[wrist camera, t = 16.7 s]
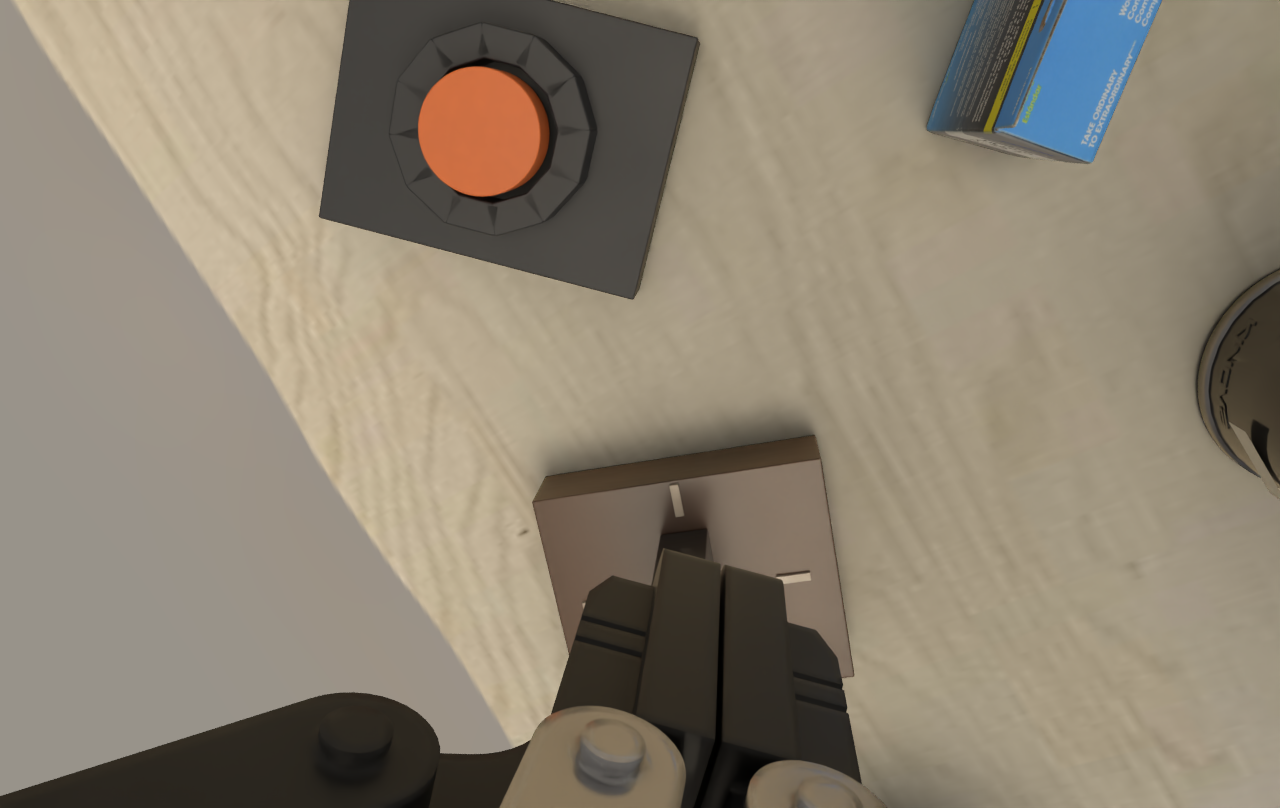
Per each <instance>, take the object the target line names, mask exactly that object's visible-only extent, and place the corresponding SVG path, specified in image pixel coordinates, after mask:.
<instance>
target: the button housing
mask: <svg viewBox="0 0 1280 808" xmlns="http://www.w3.org/2000/svg"><path fill="white" fill-rule="evenodd" d="M699 46H700V42H699V40H698V38H696V37H693V36H689V35H685V34H681V33H677V32H673V31H669V30H665V29H661V28H657V27H653V26H650V25H646V24H642V23H638V22H634V21H630V20H626V19H622V18H618V17H614V16H610V15H607V14H603V13H599V12H595V11H591V10H587V9H583V8H579V7H575V6H571V5H567V4H564V3H560V2H556V1H552V0H350V1H349V8H348V15H347V22H346V29H345V36H344V43H343V50H342V57H341V65H340V72H339V79H338V86H337V93H336V100H335V107H334V114H333V121H332V128H331V135H330V142H329V150H328V157H327V164H326V171H325V178H324V185H323V192H322V199H321V206H320V213H319V217H320V218H323V219H327V220H331V221H334V222H338V223H342V224H346V225H350V226H353V227H357V228H361V229H365V230H369V231H373V232H376V233H380V234H384V235H388V236H392V237H395V238H399V239H403V240H407V241H411V242H415V243H418V244H422V245H426V246H430V247H434V248H437V249H441V250H445V251H449V252H453V253H456V254H460V255H464V256H468V257H472V258H476V259H479V260H483V261H487V262H491V263H495V264H498V265H502V266H506V267H510V268H514V269H518V270H521V271H525V272H529V273H533V274H537V275H540V276H544V277H548V278H552V279H556V280H560V281H563V282H567V283H571V284H575V285H579V286H582V287H586V288H590V289H594V290H598V291H601V292H605V293H609V294H613V295H617V296H621V297H624V298H628V299H634V298H635V296H636V294H637V292H638V291H639V288H640V284H641V280H642V276H643V272H644V268H645V264H646V260H647V256H648V252H649V248H650V244H651V240H652V236H653V232H654V227H655V223H656V219H657V215H658V211H659V207H660V203H661V199H662V195H663V191H664V187H665V183H666V179H667V175H668V171H669V167H670V163H671V159H672V155H673V151H674V147H675V143H676V139H677V135H678V131H679V127H680V123H681V118H682V114H683V110H684V106H685V102H686V98H687V94H688V90H689V86H690V82H691V78H692V74H693V70H694V66H695V62H696V58H697V54H698V50H699ZM472 66H480V67H488V68H493V69H498V70H502V71H505V72H508V73H511V74H513V75H515V76H517V77H518V78H520V79H521V80H523V81H524V82H525V83H527V84H528V85H529V86H530V87H531V88H532V89H533V90H534V92H535V93H536V94H537V96H538V97H539V99H540V100H541V102H542V104H543V106H544V108H545V111H546V114H547V118H548V122H549V130H550V136H549V146H548V150H547V154H546V156H545V159H544V161H543V163H542V165H541V167H540V168H539V170H538V171H537V172H536V174H535V175H534V176H533V177H532V178H531V179H530V180H529V181H527V182H526V183H525V184H523V185H522V186H520V187H518V188H516V189H513V190H511V191H508V192H505V193H501V194H498V195H493V196H485V197H481V196H472V195H467V194H464V193H461V192H459V191H457V190H454V189H452V188H451V187H449V186H448V185H446V184H445V183H444V182H443V181H441V180H440V179H439V178H438V177H437V176H436V174H435V173H434V172H433V171H432V169H431V168H430V167H429V165H428V163H427V161H426V160H425V158H424V155H423V153H422V150H421V146H420V143H419V136H418V121H419V114H420V110H421V107H422V104H423V102H424V100H425V98H426V96H427V94H428V92H429V91H430V90H431V88H432V87H433V86H434V85H435V84H436V83H437V82H438V81H439V80H440V79H441V78H443V77H444V76H445V75H447V74H449V73H451V72H453V71H455V70H458V69H461V68H465V67H472Z"/></svg>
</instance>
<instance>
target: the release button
mask: <svg viewBox="0 0 1280 808" xmlns="http://www.w3.org/2000/svg"><path fill="white" fill-rule="evenodd" d="M418 136H419V143H420V146H421V150H422V153H423V155H424V158H425V160H426V161H427V163H428V165H429V167H430V168H431V169H432V171H433V172H434V173H435V174H436V176H437V177H438V178H439V179H440V180H441V181H443V182H444V183H445V184H446V185H448V186H449V187H451V188H452V189H454V190H457V191H459V192H461V193H464V194H467V195H472V196H481V197H485V196H493V195H498V194H501V193H505V192H508V191H511V190H513V189H516V188H518V187H520V186H522V185H523V184H525V183H526V182H527V181H529V180H530V179H531V178H532V177H533V176H534V175H535V174H536V172H537V171H538V170H539V168H540V167H541V165H542V163H543V161H544V159H545V156H546V154H547V150H548V146H549V136H550V130H549V122H548V118H547V114H546V111H545V108H544V106H543V104H542V102H541V100H540V99H539V97H538V96H537V94H536V93H535V92H534V90H533V89H532V88H531V87H530V86H529V85H528V84H527V83H525V82H524V81H523V80H521V79H520V78H518V77H517V76H515V75H513V74H511V73H508V72H505V71H502V70H498V69H493V68H488V67H480V66H472V67H465V68H461V69H458V70H455V71H453V72H451V73H449V74H447V75H445V76H444V77H443V78H441V79H440V80H439V81H438V82H437V83H436V84H435V85H434V86H433V87H432V88H431V90H430V91H429V92H428V94H427V96H426V98H425V100H424V102H423V104H422V107H421V110H420V114H419V121H418Z"/></svg>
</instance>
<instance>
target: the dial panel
mask: <svg viewBox="0 0 1280 808" xmlns="http://www.w3.org/2000/svg"><path fill="white" fill-rule="evenodd" d="M532 503H533V507H534V511H535V515H536V519H537V524H538V528H539V532H540V536H541V540H542V544H543V548H544V553H545V557H546V561H547V565H548V569H549V573H550V577H551V582H552V586H553V590H554V594H555V598H556V602H557V606H558V611H559V615H560V619H561V623H562V627H563V631H564V635H565V640H566V644H567V648H568V652H569V655H570V652H571V648H572V645H573V642H574V639H575V636H576V632H577V629H578V626H579V623H580V620H581V617H582V613H583V610H584V607H585V603H586V600H587V597H588V594H589V591H590V590H592V589H593V588H595V587H596V586H598V585H599V584H601V583H602V582H603V581H605V580H606V579H608V578H609V577H611V576H612V575H613V576H617V577H620V578H624V579H628V580H632V581H635V582H639V583H643V584H646V585H650V586H651V585H652V579H653V574H654V568H655V562H656V557H657V551H658V546H659V540H660V536H661V535H665V534H672V533H680V532H687V531H695V530H702V529H707V530H708V534H709V540H710V545H711V551H712V556H713V562H717V563H720V564H721V570H722V568H723V566H724V565H729V566H733V567H736V568H740V569H744V570H748V571H751V572H755V573H759V574H763V575H766V576H770V577H774V578H777V579H781V580H783V584H784V593H785V603H786V612H787V622H789V623H793V624H796V625H800V626H804V627H807V628H811V629H815V630H817V631H818V633H819V634H820V635H821V637H822V638H823V639H824V640H825V642H826V643H827V644H828V646H829V647H830V648H831V650H832V651H833V652H834V654H835V655H836V656H837V657H838V662H839V667H840V672H841V677H842V678H846V677H853V676H854V669H853V663H852V656H851V650H850V643H849V637H848V631H847V624H846V618H845V611H844V605H843V598H842V592H841V585H840V579H839V572H838V566H837V559H836V553H835V546H834V540H833V533H832V527H831V520H830V514H829V507H828V501H827V494H826V488H825V481H824V475H823V468H822V462H821V457H820V453H819V449H818V445H817V441H816V437H815V435H813V436H806V437H800V438H793V439H787V440H780V441H774V442H767V443H761V444H754V445H748V446H741V447H735V448H728V449H722V450H715V451H709V452H702V453H696V454H689V455H683V456H676V457H670V458H663V459H657V460H650V461H644V462H637V463H631V464H624V465H618V466H611V467H605V468H598V469H592V470H585V471H579V472H572V473H566V474H559V475H553V476H546V477H545V479H544V481H543V483H542V485H541V487H540V489H539V490H538V492H537V494H536V496H535V498H534V500H533V502H532Z"/></svg>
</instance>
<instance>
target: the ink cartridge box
mask: <svg viewBox="0 0 1280 808" xmlns="http://www.w3.org/2000/svg"><path fill="white" fill-rule="evenodd" d="M1161 2H1162V0H974V3H973V5H972V8H971V10H970V13H969V16H968V18H967V21H966V23H965V26H964V28H963V31H962V34H961V36H960V39H959V41H958V44H957V47H956V49H955V52H954V55H953V57H952V60H951V62H950V65H949V68H948V70H947V73H946V76H945V78H944V81H943V83H942V86H941V88H940V91H939V94H938V96H937V99H936V101H935V104H934V107H933V110H932V113H931V116H930V119H929V122H928V125H927V131H929V132H931V133H934V134H938V135H942V136H946V137H950V138H953V139H957V140H960V141H964V142H967V143H971V144H974V145H978V146H981V147H985V148H988V149H992V150H996V151H999V152H1003V153H1006V154H1010V155H1014V156H1018V157H1024V158H1032V159H1040V160H1049V161H1062V162H1070V163H1081V164H1090V163H1092V162H1093V160H1094V158H1095V155H1096V153H1097V150H1098V148H1099V145H1100V143H1101V141H1102V139H1103V136H1104V134H1105V132H1106V129H1107V127H1108V125H1109V122H1110V120H1111V118H1112V115H1113V113H1114V111H1115V108H1116V106H1117V104H1118V101H1119V99H1120V97H1121V94H1122V92H1123V90H1124V87H1125V85H1126V83H1127V80H1128V78H1129V76H1130V73H1131V71H1132V69H1133V66H1134V64H1135V62H1136V59H1137V57H1138V55H1139V52H1140V50H1141V48H1142V45H1143V43H1144V41H1145V38H1146V36H1147V34H1148V32H1149V29H1150V27H1151V25H1152V22H1153V20H1154V18H1155V15H1156V13H1157V11H1158V9H1159V6H1160V4H1161Z"/></svg>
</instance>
